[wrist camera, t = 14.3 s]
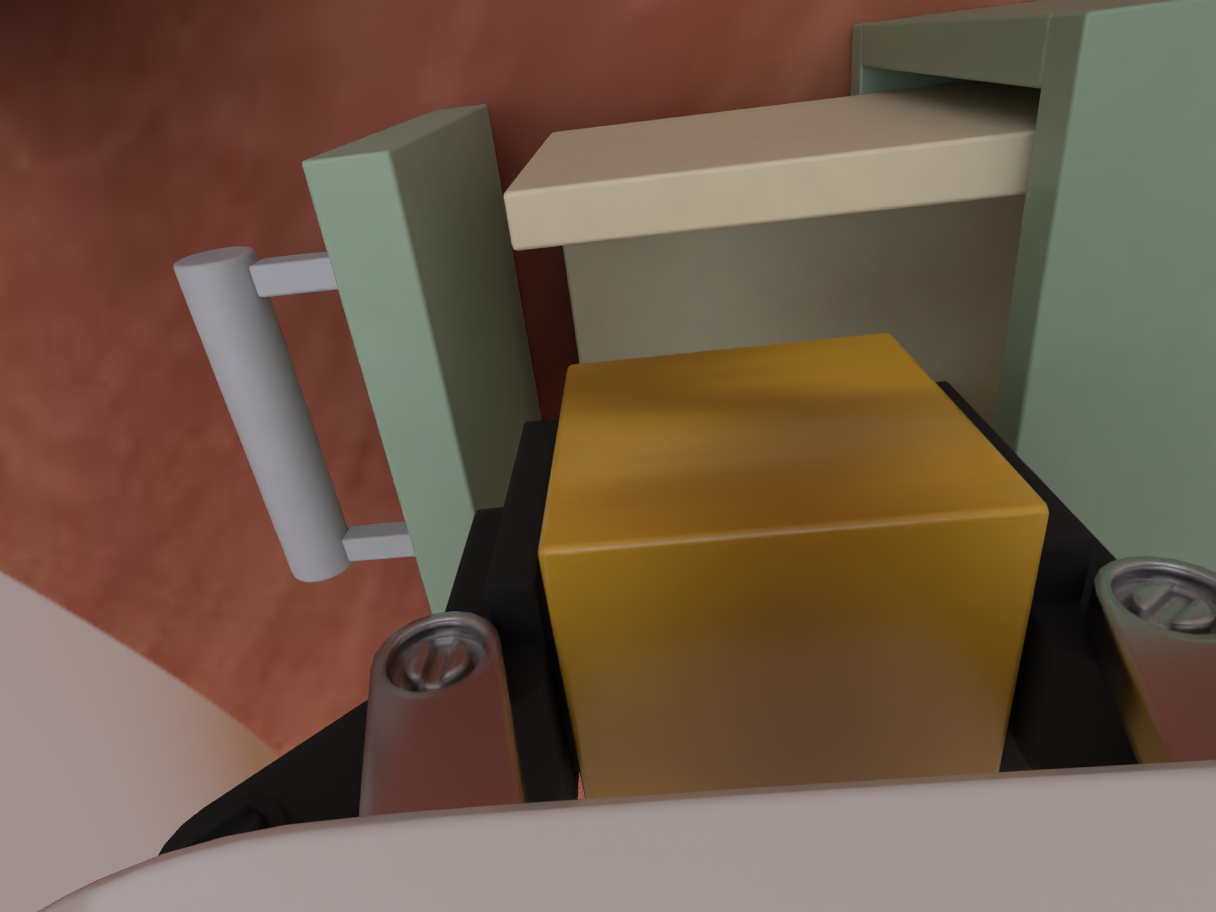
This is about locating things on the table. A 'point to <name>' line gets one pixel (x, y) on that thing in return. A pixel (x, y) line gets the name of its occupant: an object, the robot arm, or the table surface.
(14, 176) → the table surface
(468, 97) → the table surface
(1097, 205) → the cabinet
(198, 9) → the table surface
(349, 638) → the table surface
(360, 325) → the drawer
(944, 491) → the block
